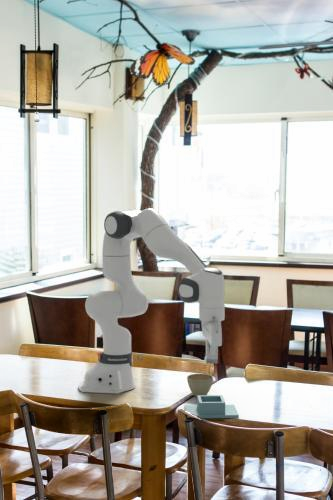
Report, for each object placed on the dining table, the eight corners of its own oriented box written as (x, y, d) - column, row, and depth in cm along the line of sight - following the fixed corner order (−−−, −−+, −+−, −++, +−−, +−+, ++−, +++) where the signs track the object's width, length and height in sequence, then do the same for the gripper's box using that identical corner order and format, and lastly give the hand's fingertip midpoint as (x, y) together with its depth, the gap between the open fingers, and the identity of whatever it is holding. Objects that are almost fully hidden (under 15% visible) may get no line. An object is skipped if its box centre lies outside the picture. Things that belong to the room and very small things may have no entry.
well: (186, 418, 245) (186, 404, 244) (184, 407, 257) (184, 394, 256) (238, 417, 246) (238, 403, 245) (234, 407, 258) (234, 393, 257)
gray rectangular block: (206, 363, 247) (206, 340, 247) (204, 360, 251) (204, 338, 251) (217, 363, 248) (217, 340, 247) (215, 360, 252) (215, 338, 251)
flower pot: (185, 391, 278) (185, 373, 277) (210, 391, 278) (211, 373, 278) (188, 399, 268) (188, 380, 267) (214, 398, 269) (214, 380, 268)
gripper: (226, 319, 237) (226, 360, 238) (215, 309, 257) (215, 347, 258) (207, 320, 236) (207, 361, 238) (198, 310, 257) (198, 347, 258)
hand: (211, 353), depth 248 cm, fingers closed on gray rectangular block
